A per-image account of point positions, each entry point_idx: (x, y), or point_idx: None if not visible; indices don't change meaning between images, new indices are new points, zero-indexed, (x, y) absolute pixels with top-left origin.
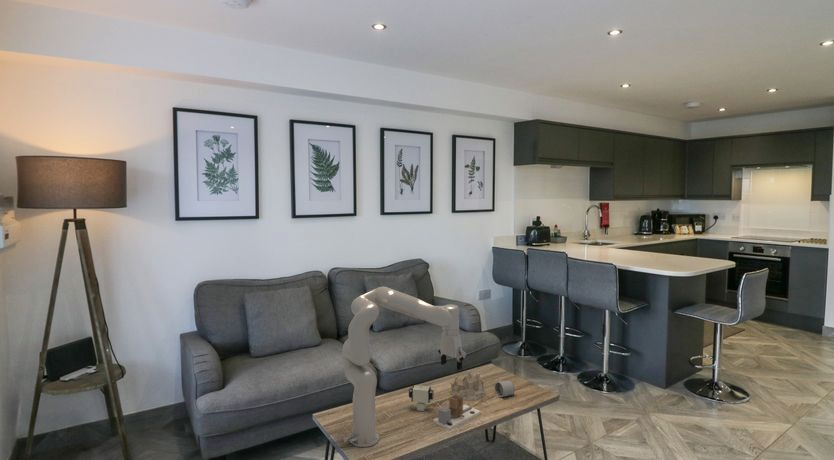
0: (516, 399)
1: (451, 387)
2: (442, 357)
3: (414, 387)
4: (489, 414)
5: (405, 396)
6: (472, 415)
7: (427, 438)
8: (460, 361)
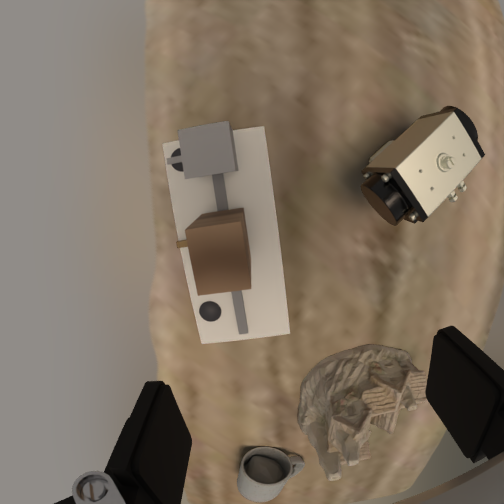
0: (219, 463)
1: (414, 366)
2: (493, 395)
3: (464, 135)
4: (180, 357)
5: (490, 191)
6: (190, 295)
7: (172, 39)
8: (88, 488)
